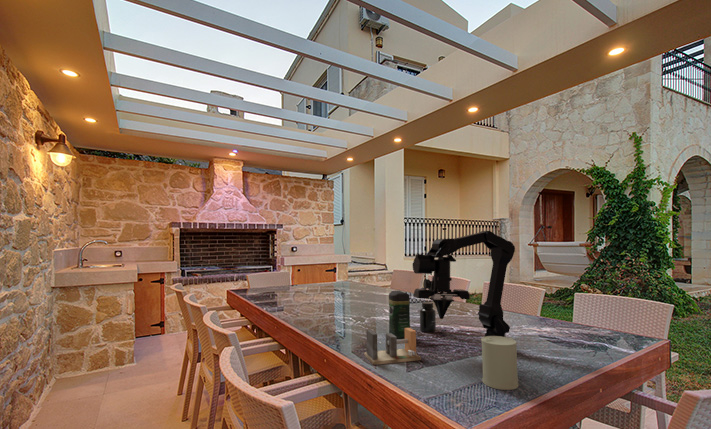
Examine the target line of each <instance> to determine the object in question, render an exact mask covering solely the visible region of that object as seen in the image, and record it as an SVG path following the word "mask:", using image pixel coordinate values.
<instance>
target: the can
mask: <svg viewBox="0 0 711 429" xmlns="http://www.w3.org/2000/svg"><path fill="white" fill-rule="evenodd" d="M480 341H481V359H482V360H481V361H482V362H481V363H482V383H483V384H484V385H486V386H487V387H490V388H493V389H496V390H502V391H511V390H516V389H518V388H519V386H520V385H519V379H518V377H519V376H518V355H517V354H518V353H517V342H518V341H516V340H515V339H513V338H510V337H507V336H506V337H501V336H486V337H485V336H482V337H481V339H480Z"/></svg>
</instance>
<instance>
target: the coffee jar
mask: <svg viewBox="0 0 711 429" xmlns="http://www.w3.org/2000/svg"><path fill="white" fill-rule="evenodd" d="M410 297H411V296H410V294H409V293H407V292H404V291H402V290H391V291H390V292H389V294H388V306H389V308H388V309H389V311H388V312H389V313H388V316H389V318H388V321H389V322H388V333H392V334H393V335H394V336H396V337H397V340H400V339H405V328H411V318H410V317H411V316H410V311H411V310H410V309H411V308H410V307H411V306H410V304H411V300H410Z"/></svg>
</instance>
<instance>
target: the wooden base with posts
mask: <svg viewBox="0 0 711 429" xmlns="http://www.w3.org/2000/svg"><path fill="white" fill-rule="evenodd" d="M365 330H366V351H365V352H363V354H364V356H365V358H366V360H368V361H369V362H370V363H371V364H372V365H374V366H375V365H383V364H385V365H386V364H395V363H404V362H406V363H407V362H415V361H421V360H422V358H421V356H420V355H419V354H417V353H416V354H415V355H413V354H412V356H409V355H408V352H407V351H406V350H405V348H398V349H397V346H398V344H397V340H398V338H397V337H396V336H394V335H393V334H392V333H389V332H387V333H385V349H384V350H378V333H376V332H375V331H374V330H373V329H371V328H370V329H365ZM388 340H389V345H388Z"/></svg>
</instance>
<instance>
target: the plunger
mask: <svg viewBox="0 0 711 429" xmlns="http://www.w3.org/2000/svg"><path fill="white" fill-rule="evenodd" d="M402 344H403V345H404V349H405V350H406V351H407V352H408V350H411V351H412V354H413V355H415V354H417V330H415V329H412V328H411V327H410V328H405V339H397V345H402ZM388 345H389V340H388Z"/></svg>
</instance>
